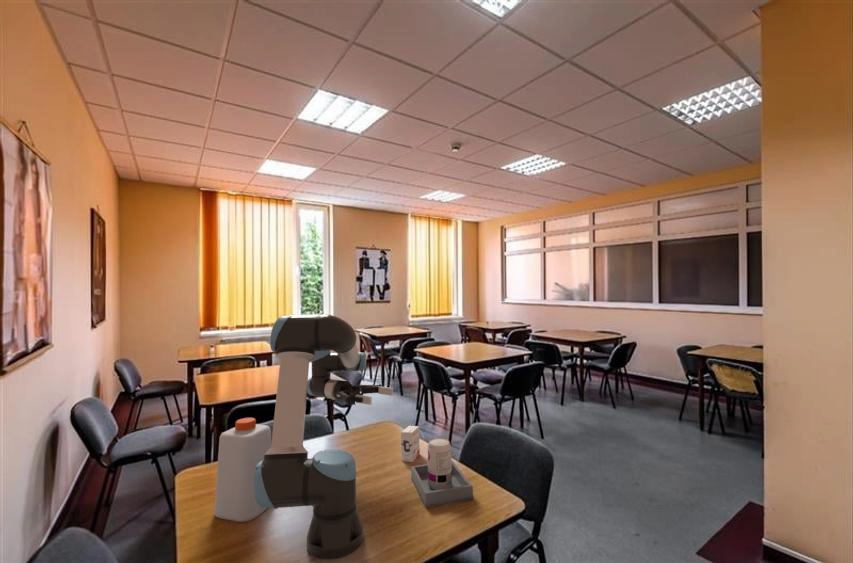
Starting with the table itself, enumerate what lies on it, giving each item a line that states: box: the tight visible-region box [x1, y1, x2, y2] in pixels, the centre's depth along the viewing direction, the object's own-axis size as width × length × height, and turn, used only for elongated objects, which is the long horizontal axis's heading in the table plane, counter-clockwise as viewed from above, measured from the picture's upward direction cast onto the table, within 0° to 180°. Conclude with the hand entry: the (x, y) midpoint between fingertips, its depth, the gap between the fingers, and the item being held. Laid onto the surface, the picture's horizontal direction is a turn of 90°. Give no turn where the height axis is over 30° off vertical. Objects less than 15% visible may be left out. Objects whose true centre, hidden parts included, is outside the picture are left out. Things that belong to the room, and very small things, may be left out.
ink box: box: [400, 425, 421, 463], centre depth 159 cm, size 8×5×12 cm, turn 160°
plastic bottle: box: [213, 417, 272, 523], centre depth 123 cm, size 15×15×28 cm
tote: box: [410, 460, 474, 509], centre depth 133 cm, size 20×16×4 cm
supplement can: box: [427, 437, 453, 490], centre depth 133 cm, size 8×8×15 cm
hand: (382, 396), depth 142 cm, fingers open, 13 cm apart
